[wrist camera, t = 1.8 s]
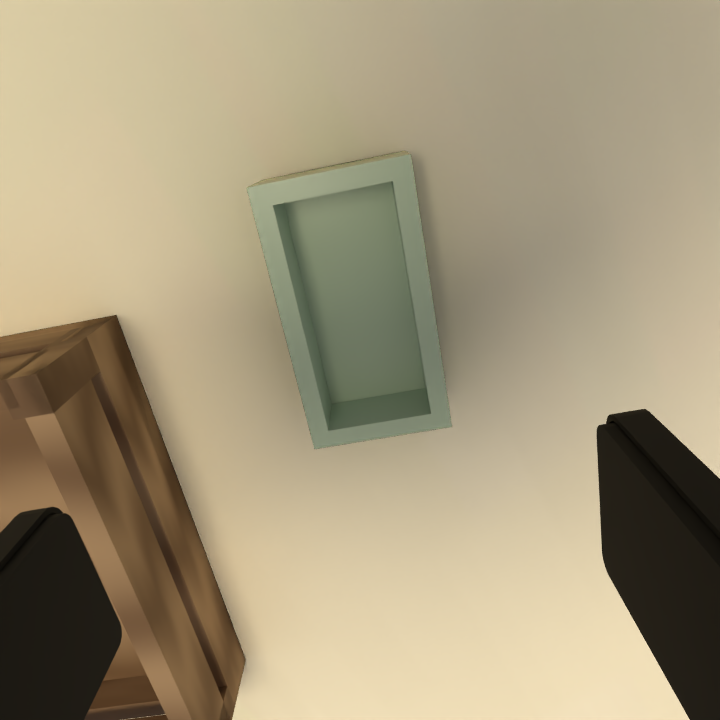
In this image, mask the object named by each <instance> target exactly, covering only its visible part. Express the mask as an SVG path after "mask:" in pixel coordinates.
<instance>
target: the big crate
mask: <svg viewBox="0 0 720 720" xmlns="http://www.w3.org/2000/svg"><path fill="white" fill-rule="evenodd" d="M48 507H57V508H59V509H60V510H61V511H62V512H63V513H66V514H68V515H70V516H71V518H72V519H73V521H74V523H75V526H76V528H77V530H78V532H79V534H80V536H81V539H82V541H83V543H84V545H85V547H86V549H87V552H88V554H89V556H90V558H91V560H92V562H93V565H94V567H95V569H96V571H97V573H98V575H99V578H100V580H101V582H102V584H103V586H104V588H105V591H106V593H107V595H108V597H109V599H110V601H111V604H112V606H113V608H114V610H115V612H116V615H117V617H118V619H119V621H120V624H121V628H122V638H121V643H120V646H119V648H118V650H117V652H116V654H115V657H114V659H113V661H112V663H111V665H110V667H109V669H108V671H107V673H106V675H105V677H104V679H103V681H102V683H101V686H100V688H99V690H98V692H97V694H96V696H95V698H94V700H93V702H92V704H91V706H90V708H89V710H88V712H87V715H86V717H85V719H84V720H123V719H126V720H232V717H233V712H234V708H235V704H236V699H237V695H238V691H239V686H240V682H241V678H242V673H243V669H244V665H245V657H244V655H243V652H242V649H241V647H240V644H239V641H238V639H237V636H236V633H235V631H234V628H233V625H232V623H231V620H230V617H229V615H228V612H227V609H226V607H225V604H224V601H223V599H222V596H221V593H220V591H219V588H218V585H217V583H216V580H215V577H214V575H213V572H212V569H211V567H210V564H209V561H208V559H207V556H206V553H205V551H204V548H203V545H202V543H201V540H200V538H199V535H198V532H197V530H196V527H195V524H194V522H193V519H192V516H191V514H190V511H189V508H188V506H187V503H186V500H185V498H184V495H183V492H182V490H181V487H180V484H179V482H178V479H177V476H176V474H175V471H174V468H173V466H172V463H171V460H170V458H169V455H168V452H167V450H166V447H165V444H164V442H163V439H162V436H161V434H160V431H159V428H158V426H157V423H156V420H155V418H154V415H153V412H152V410H151V407H150V404H149V402H148V399H147V396H146V394H145V391H144V388H143V386H142V383H141V381H140V378H139V375H138V373H137V370H136V367H135V365H134V362H133V359H132V357H131V354H130V351H129V349H128V346H127V343H126V341H125V338H124V335H123V333H122V330H121V327H120V325H119V322H118V319H117V317H116V315H114V316H109V317H104V318H98V319H93V320H88V321H83V322H77V323H72V324H67V325H61V326H56V327H51V328H46V329H40V330H35V331H30V332H24V333H19V334H14V335H9V336H3V337H0V533H1V531H2V530H3V529H4V528H5V527H6V526H7V525H8V524H9V523H10V522H11V521H12V520H13V518H14V517H15V516H17V515H18V514H19V513H21V512H24V511H30V510H36V509H42V508H48ZM163 714H166V715H163ZM155 715H159V716H155ZM147 716H151V717H147ZM139 717H142V718H139ZM131 718H134V719H131Z"/></svg>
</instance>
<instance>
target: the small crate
mask: <svg viewBox="0 0 720 720" xmlns="http://www.w3.org/2000/svg"><path fill="white" fill-rule="evenodd" d="M247 191H248V195H249V199H250V203H251V207H252V211H253V215H254V218H255V222H256V226H257V230H258V234H259V238H260V241H261V245H262V249H263V253H264V257H265V261H266V264H267V268H268V272H269V276H270V280H271V284H272V288H273V291H274V295H275V299H276V303H277V307H278V311H279V314H280V318H281V322H282V326H283V330H284V334H285V337H286V341H287V345H288V349H289V353H290V357H291V361H292V364H293V368H294V372H295V376H296V380H297V384H298V387H299V391H300V395H301V399H302V403H303V407H304V410H305V414H306V418H307V422H308V426H309V430H310V434H311V437H312V441H313V445H314V449H319V448H325V447H331V446H337V445H343V444H350V443H356V442H362V441H368V440H374V439H380V438H386V437H393V436H399V435H405V434H411V433H417V432H423V431H429V430H436V429H442V428H448V427H452V424H451V417H450V410H449V404H448V397H447V391H446V384H445V377H444V371H443V364H442V357H441V351H440V344H439V337H438V331H437V324H436V317H435V311H434V304H433V298H432V291H431V284H430V278H429V271H428V264H427V258H426V251H425V244H424V238H423V231H422V225H421V218H420V211H419V205H418V198H417V191H416V185H415V178H414V171H413V165H412V158H411V154H410V153H408V152H406V151H401V152H396V153H392V154H387V155H382V156H377V157H372V158H367V159H362V160H358V161H353V162H348V163H343V164H338V165H333V166H328V167H324V168H319V169H314V170H309V171H304V172H299V173H294V174H290V175H285V176H280V177H275V178H270V179H265V180H262V181H260V182H257V183H255V184H253V185H251V186H249V187H247Z"/></svg>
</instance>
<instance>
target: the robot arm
mask: <svg viewBox="0 0 720 720" xmlns="http://www.w3.org/2000/svg"><path fill="white" fill-rule="evenodd" d="M597 452H598V473H599V495H600V517H601V538H602V555H603V560H604V564H605V567H606V570H607V572H608V575H609V577H610V578H611V580H612V582H613V584H614V586H615V587H616V589H617V591H618V593H619V594H620V596H621V598H622V600H623V602H624V603H625V605H626V607H627V609H628V610H629V612H630V614H631V616H632V618H633V619H634V621H635V623H636V625H637V626H638V628H639V630H640V632H641V634H642V635H643V637H644V639H645V641H646V642H647V644H648V646H649V648H650V650H651V651H652V653H653V655H654V657H655V658H656V660H657V662H658V664H659V666H660V667H661V669H662V671H663V673H664V675H665V676H666V678H667V680H668V682H669V683H670V685H671V687H672V689H673V691H674V692H675V694H676V696H677V698H678V699H679V701H680V703H681V705H682V707H683V708H684V710H685V712H686V714H687V715H688V717H689V719H690V720H720V479H719V478H718V477H717V476H716V475H715V474H714V473H713V472H712V471H711V470H710V469H709V468H708V467H707V466H706V465H705V464H704V463H703V462H702V461H700V460H699V459H698V458H697V457H696V456H695V455H694V454H693V453H692V452H691V451H690V450H689V449H688V448H687V447H686V446H685V445H684V444H683V443H682V442H681V441H679V440H678V439H677V438H676V437H675V436H674V435H673V434H672V433H671V432H670V431H669V430H668V429H667V428H666V427H665V426H664V425H663V424H662V423H661V422H660V421H659V420H657V419H656V418H655V417H654V416H653V415H652V414H651V413H650V412H649V411H647V410H646V409H641V410H635V411H629V412H623V413H617V414H611V415H609V416H608V418H607V421H606V424H603V425H599V426H598V428H597ZM121 638H122V628H121V624H120V621H119V619H118V617H117V615H116V612H115V610H114V608H113V606H112V604H111V601H110V599H109V597H108V595H107V593H106V591H105V588H104V586H103V584H102V582H101V580H100V578H99V575H98V573H97V571H96V569H95V567H94V565H93V562H92V560H91V558H90V556H89V554H88V552H87V549H86V547H85V545H84V543H83V541H82V539H81V536H80V534H79V532H78V530H77V528H76V526H75V523H74V521H73V519H72V518H71V516H70V515H68V514H66V513H63V512H62V511H61V510H60V509H59V508H57V507H48V508H42V509H36V510H30V511H24V512H21V513H19V514H18V515H17V516H15V517H14V518H13V520H12V521H11V522H10V523H9V524H8V525H7V526H6V527H5V528H4V529H3V530H2V531H1V533H0V720H84V719H85V717H86V715H87V712H88V710H89V708H90V706H91V704H92V702H93V700H94V698H95V696H96V694H97V692H98V690H99V688H100V686H101V683H102V681H103V679H104V677H105V675H106V673H107V671H108V669H109V667H110V665H111V663H112V661H113V659H114V657H115V654H116V652H117V650H118V648H119V646H120V643H121Z"/></svg>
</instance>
